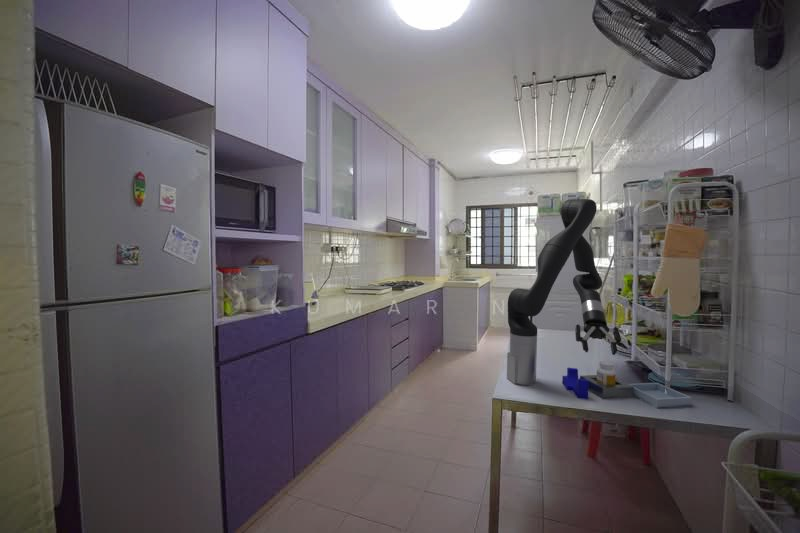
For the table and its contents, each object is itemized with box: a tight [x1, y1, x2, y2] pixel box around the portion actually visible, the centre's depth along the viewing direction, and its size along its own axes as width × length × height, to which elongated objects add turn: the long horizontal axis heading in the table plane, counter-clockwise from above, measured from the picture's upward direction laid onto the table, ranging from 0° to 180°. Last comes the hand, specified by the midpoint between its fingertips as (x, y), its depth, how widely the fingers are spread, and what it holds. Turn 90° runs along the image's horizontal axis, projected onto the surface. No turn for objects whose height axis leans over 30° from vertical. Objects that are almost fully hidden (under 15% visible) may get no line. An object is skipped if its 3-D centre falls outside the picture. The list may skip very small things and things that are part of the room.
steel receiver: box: [579, 374, 635, 400], centre depth 113 cm, size 11×11×4 cm
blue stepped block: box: [561, 367, 589, 400], centre depth 114 cm, size 12×4×6 cm, turn 169°
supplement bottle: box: [596, 360, 617, 385], centre depth 113 cm, size 5×5×10 cm
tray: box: [628, 382, 693, 409], centre depth 108 cm, size 12×12×3 cm
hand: (600, 352), depth 119 cm, fingers open, 8 cm apart
